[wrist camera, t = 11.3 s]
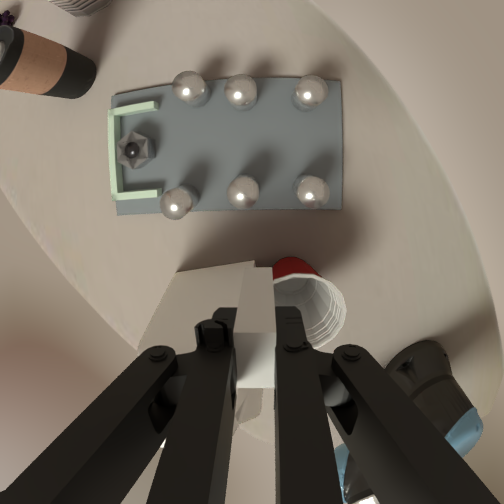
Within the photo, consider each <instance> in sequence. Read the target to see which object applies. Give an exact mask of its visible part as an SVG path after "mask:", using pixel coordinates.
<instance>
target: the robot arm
mask: <svg viewBox="0 0 504 504" xmlns="http://www.w3.org/2000/svg"><path fill="white" fill-rule="evenodd" d="M194 329H195V336H196V343H197V348H196V350H195V351H193V352H189V353H184V354H177V355H176V353H175V350H174V349H173V348H171V347H169V346H164V345H158V346H153V347H150V348H148V349H146V350H145V351H143V352H142V353H141V354H140V355H139V356H138V357H137V358H136V359H135V360H134V361H133V362H132V363H131V364H130V365H129V366H128V367H127V368H126V369H125V370H124V372H122V373H121V374H120V375H119V376H118V377H117V378H116V379H115V380H114V381H113V382H112V383H111V384H110V385H109V386H108V387H107V388H106V389H105V390H104V391H103V392H102V393H101V394H100V395H99V396H98V397H97V398H96V399H95V400H94V401H93V402H92V403H91V404H90V405H89V406H88V407H87V408H86V409H85V410H84V411H83V412H82V413H81V414H80V415H79V416H78V417H77V418H76V419H75V420H74V421H73V422H72V423H71V424H70V425H69V426H68V427H67V428H66V429H65V430H64V431H63V432H62V433H61V434H60V435H59V436H58V437H57V438H56V439H55V440H54V441H53V442H52V443H51V444H50V445H49V446H48V447H47V448H46V449H45V450H44V451H43V452H42V453H41V454H40V455H39V456H38V457H37V458H36V459H35V460H34V461H33V462H32V463H31V464H30V466H28V467H27V468H26V469H25V470H24V471H23V472H22V473H21V474H20V475H19V476H18V478H16V480H15V481H14V482H13V483H12V484H11V485H10V486H9V487H8V488H7V489H6V490H4V491H2V492H0V504H120V503H121V502H122V500H123V499H124V498H125V496H126V495H127V493H128V492H129V491H130V489H131V488H132V486H133V485H134V484H135V482H136V481H137V480H138V478H139V477H140V475H141V474H142V472H143V471H144V469H145V468H146V467H147V465H148V464H149V462H150V461H151V459H152V458H153V456H154V455H155V454H156V452H157V451H158V449H159V448H160V446H161V445H162V443H163V442H164V440H165V439H166V441H165V444H164V447H163V451H162V454H161V457H160V460H159V463H158V466H157V470H156V473H155V476H154V479H153V483H152V486H151V489H150V492H149V496H148V499H147V502H146V504H225V494H226V487H227V486H226V485H227V478H228V469H229V460H230V452H231V443H232V434H233V425H234V417H235V408H236V399H237V394H236V384H237V388H275V390H274V410H275V466H276V468H275V471H276V504H343V503H348V504H500V503H499V502H498V500H497V499H496V498H495V497H494V495H493V494H492V493H491V492H490V491H489V489H488V488H487V487H486V486H485V485H484V483H483V482H482V481H481V480H480V479H479V477H478V476H477V475H476V474H475V473H474V471H473V470H472V469H471V468H470V467H469V466H468V464H467V463H466V462H465V461H464V460H463V459H462V458H463V457H464V456H465V455H466V454H467V453H468V452H469V451H470V450H471V449H472V448H473V447H474V446H475V444H476V443H477V441H478V440H479V438H480V437H481V434H482V432H483V423H482V420H481V419H480V417H479V415H478V413H477V409H476V408H475V407H474V406H473V405H472V403H471V402H470V400H469V399H468V397H467V396H466V394H465V393H464V391H463V390H462V389H461V387H460V386H459V384H458V383H457V382H456V380H455V379H454V377H453V375H452V371H451V367H450V363H449V359H448V355H447V353H446V351H445V350H444V349H443V347H442V346H441V345H440V344H439V343H437V342H435V341H422V342H419V343H416V344H413V345H411V346H409V347H408V348H406V349H404V350H403V351H402V352H400V353H399V354H398V355H397V356H396V357H395V358H394V359H393V360H392V361H391V362H390V363H389V364H388V366H387V367H386V369H385V370H384V369H383V368H382V367H381V365H380V364H379V363H378V362H377V361H376V360H375V359H374V358H373V357H372V355H371V354H370V353H369V352H368V351H367V350H366V349H364V348H363V347H360V346H358V345H352V344H347V345H342V346H339V347H337V348H336V349H335V350H334V353H333V354H331V353H325V352H320V351H317V350H315V349H314V348H312V345H311V343H310V342H309V341H307V337H306V332H305V328H304V323H303V319H302V315H301V311H300V310H299V309H298V308H297V307H296V306H275V303H274V289H273V274H272V267H253V268H245V269H244V275H243V280H242V286H241V291H240V297H239V303H238V307H219V308H218V309H217V310H216V311H215V312H214V313H213V316H212V319H207V320H204V321H201V322H199V323H198V324H197V325H196V326H195V327H194ZM326 411H327V412H326ZM327 413H328V415H329V417H330V418H331V420H332V422H333V424H334V426H335V427H336V429H337V431H338V433H339V434H340V436H341V438H342V440H343V441H344V443H343V444H341V445H339V446H338V447H336V448H335V450H334V447H333V442H332V437H331V432H330V427H329V422H328V417H327ZM166 437H167V438H166Z"/></svg>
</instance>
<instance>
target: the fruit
mask: <svg viewBox="0 0 504 504" xmlns="http://www.w3.org/2000/svg"><path fill="white" fill-rule="evenodd" d="M9 14H10V12H9V11H8V10H7V11H5V12H4V13H3V14H2V15H1V14H0V26H2V25H10V26H11V22H13V21H14V16H13V15H10V16H9Z"/></svg>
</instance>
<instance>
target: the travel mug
mask: <svg viewBox="0 0 504 504" xmlns="http://www.w3.org/2000/svg"><path fill="white" fill-rule="evenodd" d="M95 76H96V67H95V64H94V63H93V61H91V60H90V59H88V58H87V57H85V56H83V55H81V54H79V53H77V52H75V51H73V50H71V49H69V48H67V47H65V46H63V45H61V44H59V43H56V42H54V41H51V40H49V39H46V38H44V37H41V36H38V35H36V34H33V33H30V32H27V31H24V30H22V29H19V28H16V27H13V26H10V25H2V26H0V89H5V90H12V91H19V92H25V93H31V94H38V95H46V96H54V97H61V98H69V99H75V98H79V97H81V96H83V95H84V94H85V93H86V92H87V91H88V90H89V89H90V88H91V86H92V84H93V82H94V80H95Z"/></svg>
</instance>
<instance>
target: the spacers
mask: <svg viewBox="0 0 504 504" xmlns="http://www.w3.org/2000/svg"><path fill="white" fill-rule="evenodd" d="M172 91H173V93H174V95H175V96H176V97H178V98H179V99H181V100H182V101H184V102H185V103H187V104H188V105H189V106H191V107H196V108H198V107H202V106H204V105H205V104H207V103H208V101H209V100H210V98H211V90H210V88H209V87H208V86H207V84H206V83H205V82H204V80H203V79H202V78H201V76H200V75H199V74H198V73H196V72H194V71H184V72H182V73H180V74H178V75H177V76H176V77H175V79H174V80H173V83H172ZM224 93H225V95H226V97H227V99H228V101H229V102H230V104H231V106H232V107H233V108H234V109H235V110H237V111H240V112H246V111H249V110H251V109H252V108H253V107H254V106H255V105H256V103H257V86H256V83H255V81H254V80H253V79H252V78H251V77H249V76H247V75H244V74H238V75H234V76H232V77H230V78H229V79H228V80H227V81H226V83H225V86H224ZM327 96H328V86H327V84H326V82H325V81H324V80H323V79H322V78H320V77H318V76H315V75H306V76H304V77H302V78H301V79H300V80H299V81H298V83H297V85H296V87H295V89H294V91H293V93H292V95H291V101H292V104H293V106H294V107H295V108H296V109H298V110H300V111H303V112H309V111H312V110H313V109H315V108H316V107H317V106H318V105H319V104H321V103H322V102H323V101H324V100H325V99H326V98H327ZM293 192H294V194H295V196H296V197H297V198H298V199H299V200H300V201H301V202H302V203H303V204H304V205H305V206H306V207H308V208H313V209H315V208H320V207H322V206H323V205H324V204H325V203H326V202H327V201H328V199H329V195H330V191H329V187H328V185H327V183H326V182H325V181H324V180H322V179H321V178H318V177H315V176H313V175H310V174H302V175H299V176H298V177H297V178H296V179H295V180H294V182H293ZM258 197H259V184H258V181H257V180H256V179H255V178H254V177H253V176H251V175H249V174H242V175H239V176H238V177H236V178H235V179H234V180H233V181H232V182H231V183H230V184H229V186H228V188H227V198H228V200H229V202H230V203H231V204H232V205H233V206H234V207H236V208H239V209H247V208H250V207H252V206H253V205H254V204H255V203H256V202H257V200H258ZM198 202H199V192H198V190H197V189H196V188H195V187H194V186H192V185H189V184H184V185H181V186H178V187H176V188H173V189H171V190H168V191H167V192H165V193H164V194H163V195H162V197H161V199H160V209H161V211H162V213H163V214H164V215H165V216H166V217H167V218H169V219H172V220H178V219H181V218H183V217H184V216H185V215H186V214H187V213H189V212H190V211H191V210H192V209H194V208H195V207H196V206H197V204H198Z"/></svg>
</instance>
